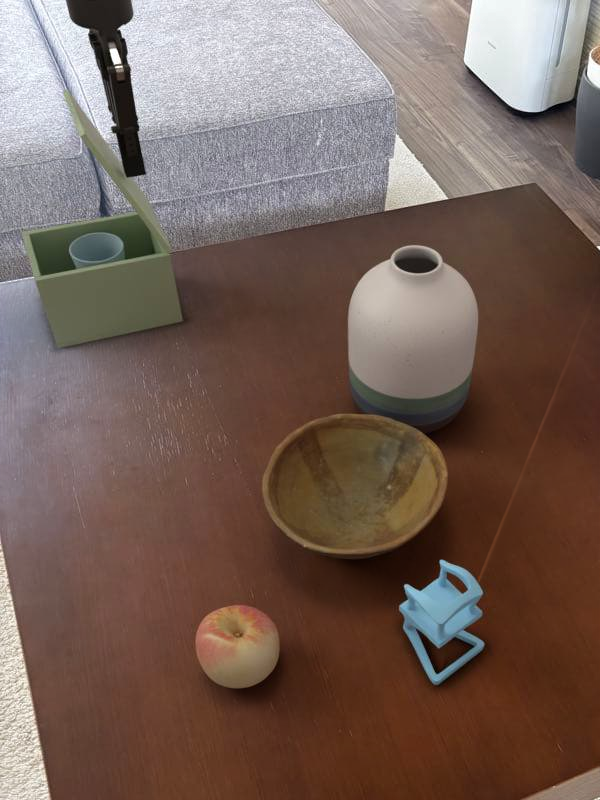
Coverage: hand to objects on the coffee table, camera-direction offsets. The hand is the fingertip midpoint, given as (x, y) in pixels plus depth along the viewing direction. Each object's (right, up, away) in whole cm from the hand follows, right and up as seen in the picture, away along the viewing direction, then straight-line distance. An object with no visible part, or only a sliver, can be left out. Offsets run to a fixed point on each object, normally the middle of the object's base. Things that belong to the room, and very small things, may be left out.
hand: (135, 173), depth 120 cm
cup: (-8, -15, +14) cm, 22 cm away
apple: (+20, -65, -24) cm, 72 cm away
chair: (+41, -63, -21) cm, 78 cm away
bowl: (+31, -50, -11) cm, 60 cm away
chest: (-8, -15, +14) cm, 23 cm away
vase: (+38, -32, +4) cm, 50 cm away
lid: (-2, -1, -1) cm, 3 cm away
